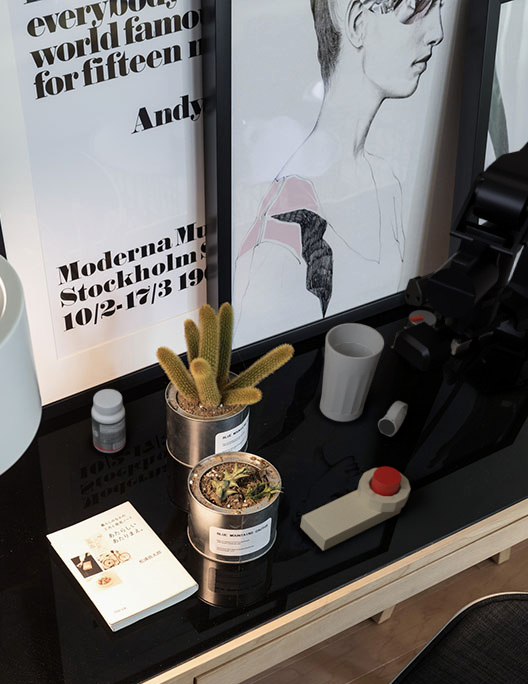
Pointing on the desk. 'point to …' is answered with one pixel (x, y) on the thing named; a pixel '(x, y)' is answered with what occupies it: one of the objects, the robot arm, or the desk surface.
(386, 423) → the grey short cylinder
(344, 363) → the cup
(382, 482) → the power button
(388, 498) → the button base
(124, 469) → the desk surface
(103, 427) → the pill bottle
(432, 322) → the dial
